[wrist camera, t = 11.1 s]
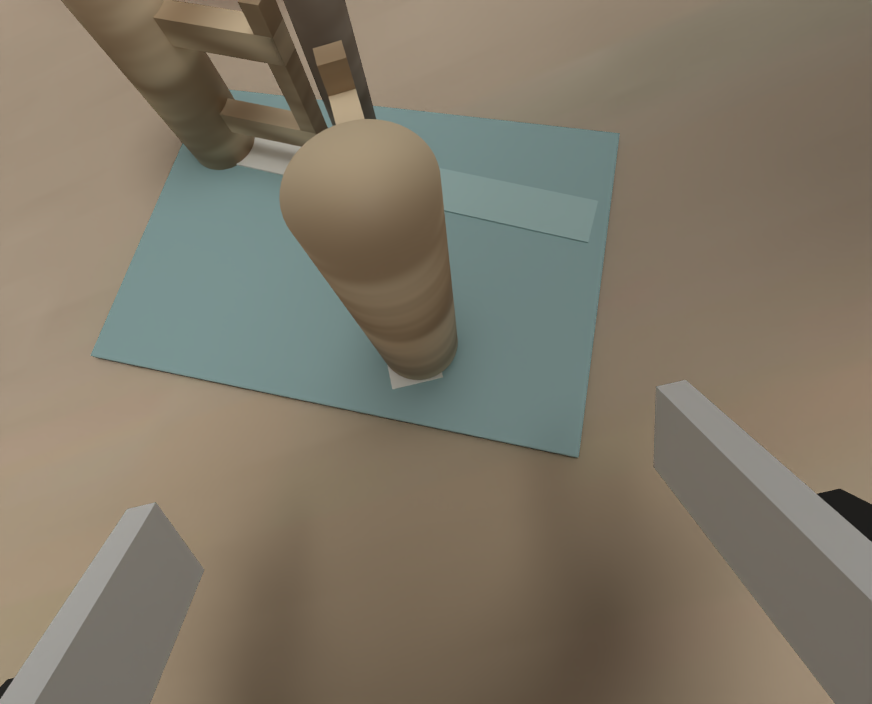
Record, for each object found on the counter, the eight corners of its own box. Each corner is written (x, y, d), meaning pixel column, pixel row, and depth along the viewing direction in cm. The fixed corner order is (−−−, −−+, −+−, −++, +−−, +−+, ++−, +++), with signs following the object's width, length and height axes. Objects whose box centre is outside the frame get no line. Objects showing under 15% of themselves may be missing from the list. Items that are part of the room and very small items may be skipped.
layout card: (617, 138, 24) (620, 131, 23) (576, 457, 19) (579, 457, 19) (210, 92, 27) (206, 85, 27) (96, 357, 23) (89, 355, 22)
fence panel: (345, 210, 23) (231, -34, 12) (412, 191, 23) (358, -71, 12) (391, 389, 20) (295, 280, 9) (467, 367, 20) (460, 231, 9)
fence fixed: (401, 156, 25) (338, -128, 13) (379, 211, 24) (293, -43, 12) (214, 117, 26) (16, -161, 15) (188, 167, 26) (-44, -89, 14)
